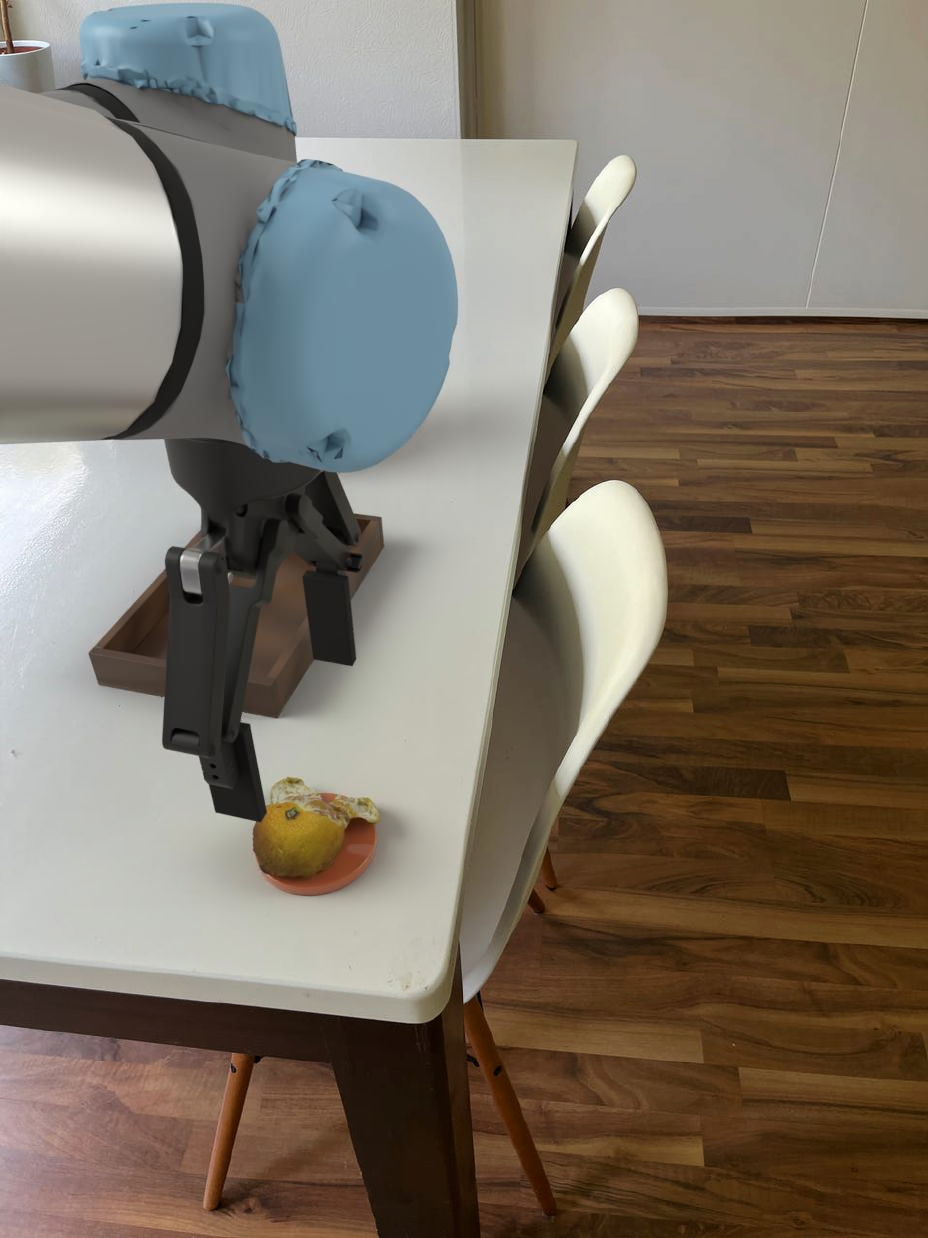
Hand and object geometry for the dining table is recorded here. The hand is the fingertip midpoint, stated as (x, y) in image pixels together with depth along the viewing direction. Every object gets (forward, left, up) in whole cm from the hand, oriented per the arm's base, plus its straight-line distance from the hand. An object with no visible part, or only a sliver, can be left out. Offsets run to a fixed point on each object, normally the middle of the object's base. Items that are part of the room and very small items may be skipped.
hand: (292, 729), depth 59 cm
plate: (0, 0, -11) cm, 11 cm away
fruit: (+1, 0, -10) cm, 10 cm away
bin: (+23, +15, -11) cm, 30 cm away
